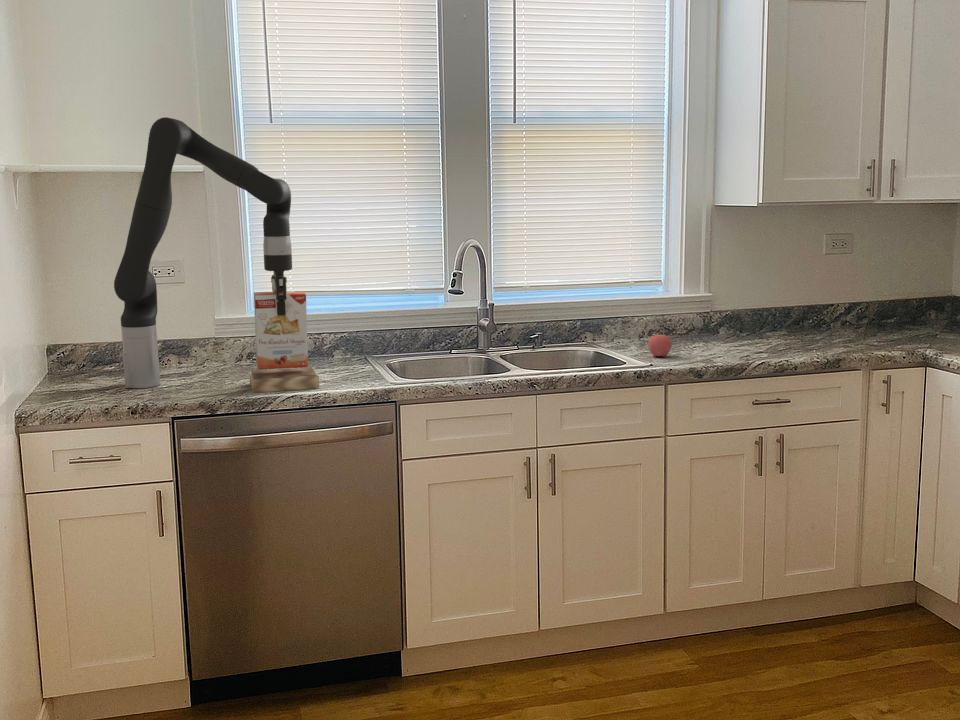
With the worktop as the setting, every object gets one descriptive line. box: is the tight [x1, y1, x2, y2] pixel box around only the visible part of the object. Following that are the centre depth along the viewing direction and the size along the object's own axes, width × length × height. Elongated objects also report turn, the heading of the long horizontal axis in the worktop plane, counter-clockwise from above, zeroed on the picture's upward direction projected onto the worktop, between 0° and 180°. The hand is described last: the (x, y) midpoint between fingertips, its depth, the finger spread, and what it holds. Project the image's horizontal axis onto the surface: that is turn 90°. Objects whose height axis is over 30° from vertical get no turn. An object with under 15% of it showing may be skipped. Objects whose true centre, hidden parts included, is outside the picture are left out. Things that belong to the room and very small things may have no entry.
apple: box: [647, 332, 673, 357], centre depth 298 cm, size 7×7×8 cm
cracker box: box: [253, 291, 309, 370], centre depth 257 cm, size 14×6×21 cm, turn 106°
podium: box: [249, 366, 320, 394], centre depth 259 cm, size 18×13×4 cm
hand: (280, 313), depth 256 cm, fingers closed on cracker box, 6 cm apart
